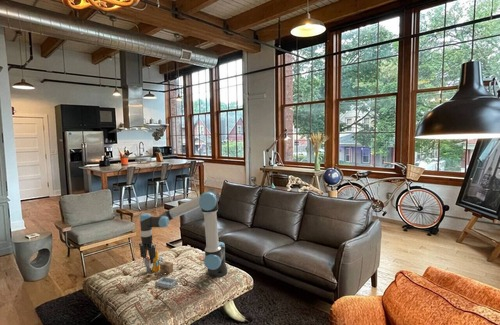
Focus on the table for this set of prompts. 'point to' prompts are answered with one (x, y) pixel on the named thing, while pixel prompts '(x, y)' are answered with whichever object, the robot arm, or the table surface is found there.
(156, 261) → the cylinder
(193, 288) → the table surface
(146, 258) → the pin
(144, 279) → the socket block
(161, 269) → the block
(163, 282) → the tray
